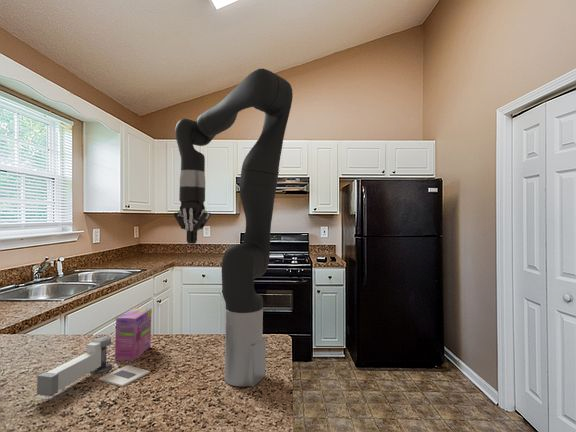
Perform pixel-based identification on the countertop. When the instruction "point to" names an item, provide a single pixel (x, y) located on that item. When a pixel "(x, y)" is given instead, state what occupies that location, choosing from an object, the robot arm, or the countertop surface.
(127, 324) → the box
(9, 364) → the countertop surface
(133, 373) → the label tile
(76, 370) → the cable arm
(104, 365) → the grey pedestal stand
